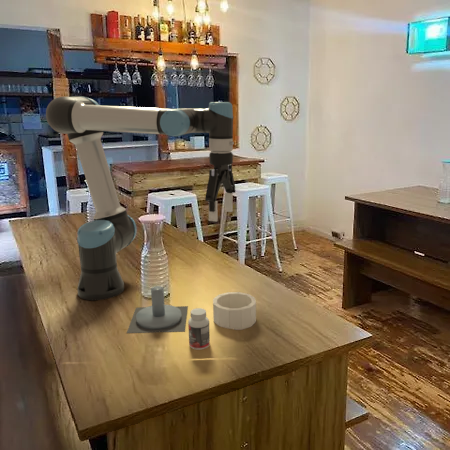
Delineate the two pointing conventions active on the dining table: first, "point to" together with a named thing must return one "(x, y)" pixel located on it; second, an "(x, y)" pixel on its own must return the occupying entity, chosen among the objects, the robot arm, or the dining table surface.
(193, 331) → the pill bottle
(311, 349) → the dining table surface
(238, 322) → the bowl
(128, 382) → the dining table surface
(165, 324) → the lid
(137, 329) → the mat
